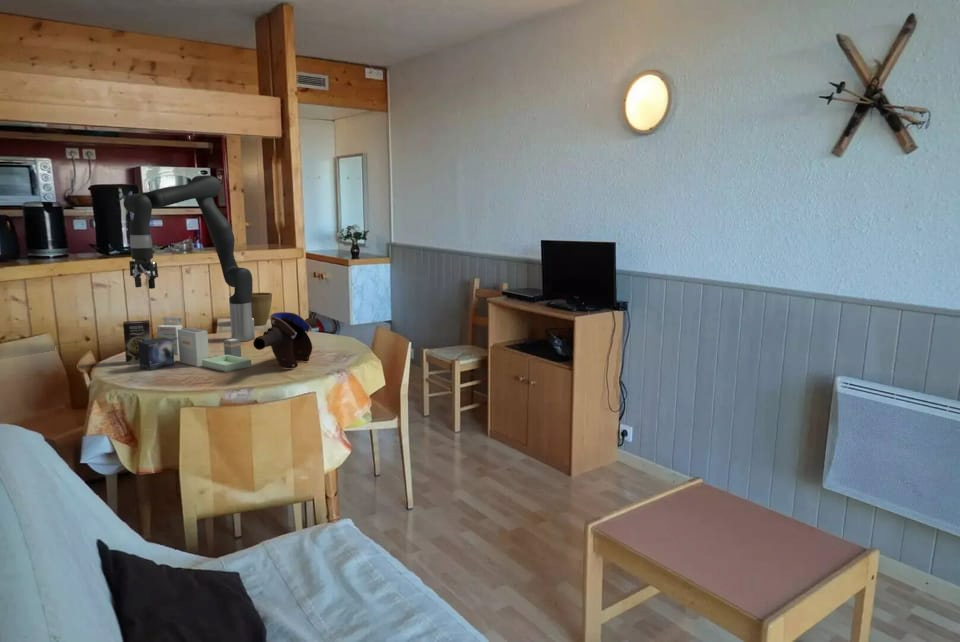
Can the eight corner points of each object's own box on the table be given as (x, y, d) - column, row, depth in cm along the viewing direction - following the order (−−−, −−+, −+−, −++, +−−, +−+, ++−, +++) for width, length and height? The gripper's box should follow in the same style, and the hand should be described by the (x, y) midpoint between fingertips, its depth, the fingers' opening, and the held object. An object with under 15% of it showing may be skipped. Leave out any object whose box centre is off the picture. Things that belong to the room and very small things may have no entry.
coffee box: (126, 365, 244) (122, 323, 241) (126, 361, 250) (122, 321, 247) (152, 362, 248) (149, 322, 245) (152, 359, 254) (149, 319, 251)
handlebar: (276, 380, 225) (274, 324, 221) (243, 378, 227) (240, 323, 223) (328, 353, 268) (327, 306, 264) (300, 351, 270) (298, 304, 267)
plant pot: (278, 322, 337) (277, 292, 335) (265, 327, 323) (264, 296, 320) (251, 321, 339) (250, 291, 336) (237, 326, 325) (236, 295, 322)
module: (234, 355, 262) (233, 338, 261) (241, 356, 260) (240, 339, 259) (224, 357, 259) (223, 339, 258) (231, 358, 256) (230, 341, 255)
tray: (227, 360, 252) (227, 354, 252) (251, 366, 244) (251, 359, 244) (202, 366, 243) (201, 359, 243) (226, 372, 235) (225, 365, 235)
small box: (149, 371, 236) (146, 343, 234) (139, 368, 239) (136, 341, 237) (175, 365, 245) (173, 338, 243) (165, 363, 248) (163, 336, 246)
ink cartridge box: (158, 354, 263) (155, 319, 260) (165, 351, 268) (162, 317, 265) (177, 354, 262) (175, 319, 259) (184, 352, 267) (182, 317, 264)
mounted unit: (193, 359, 255) (190, 326, 252) (210, 363, 248) (208, 329, 246) (179, 362, 250) (176, 328, 247) (196, 366, 243) (194, 332, 241)
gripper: (161, 246, 248) (165, 288, 251) (139, 245, 255) (143, 285, 258) (143, 247, 241) (147, 290, 244) (121, 246, 248) (125, 287, 251)
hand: (145, 287), depth 251 cm, fingers open, 8 cm apart
